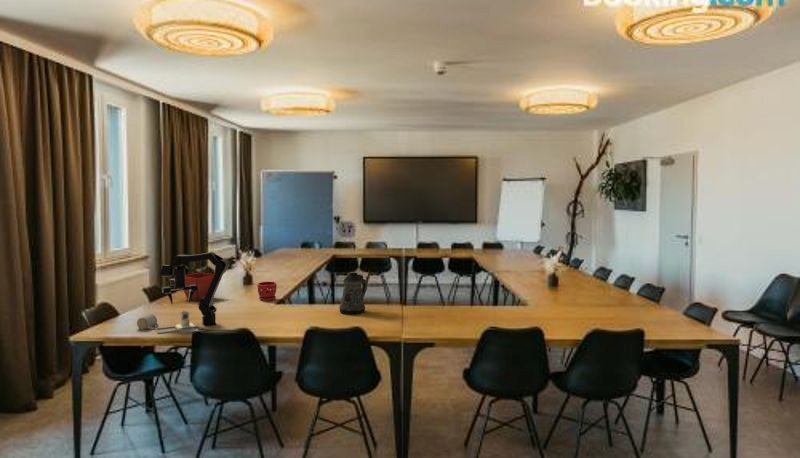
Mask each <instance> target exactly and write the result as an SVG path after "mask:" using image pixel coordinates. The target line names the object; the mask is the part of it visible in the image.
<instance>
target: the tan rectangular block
mask: <svg viewBox="0 0 800 458" xmlns="http://www.w3.org/2000/svg"><path fill="white" fill-rule="evenodd" d="M189 323H190V311H189V310H180V324H181V326H189Z"/></svg>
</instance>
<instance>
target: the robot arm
mask: <svg viewBox="0 0 800 458" xmlns="http://www.w3.org/2000/svg"><path fill="white" fill-rule="evenodd" d="M206 260H208V261H209V262H211V264H212V265H213V266H214V274H215V275H214V277H213V279H212V282H211V284H210V287H209V289H208V292H207V294H206V296H204V297H202V298H201V299H200V300H199V303H198V304H197V305H198V310H199V311H200V313H201V315H202V317H201V319H202V320H201V321H202V322H201V323H202V325H204V326H208V327H209V326H215V325H217V322H216V312H217V309H218V308H217V307H216V306H215V305H214V298H215V295H216V292H217V290H218V287H219V285H220V284H221V280H222V277H223V276H224V274H225V273H226V272H227V271H228V269H229V267H230V264H231V263H230V261H229V260H228V259H227V258H226V259H225V258H223V257H221V255H218V254H216V253H215V252H213V251H211V252H205V253H197V254H192V255H191V254H178V255H175V256H173V257H172V261H171V262H170V264H169V265H168V264H161V268H160V271H159V275H160V276H161V277H163V278H164V277H165V278H166V277H167V278H172V277H173V276H174V279H170V280H169V283H170V284H169V286H163V287H162V288H161V293H162V294H165V295H167V297H168V299H169V301H170V304H171V305H173V302H174V301H173V296H172V295H173V294H172V292H176V291H184V290H189V298H188V299H187V300H188V301H187V302H188V303H189V304H190V302H191V300H192V299H191V297H192V295H193V293H194V292H196V290H198V286H197V285H196V284H194V285H189V286H188V287H185V275H186V270H188V269H190V267H189V266H188V265H186V264H188V263H192V262H200V261H206ZM172 286H173V287H172ZM183 288H184V289H183Z"/></svg>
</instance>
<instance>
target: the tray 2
mask: <svg viewBox="0 0 800 458" xmlns="http://www.w3.org/2000/svg"><path fill="white" fill-rule="evenodd" d="M196 329H202V328H201V326H199V325H197V326H196V325H194V327H185V328H179V331H180V332H181V334H183V335H185V334H193V333H192V332H193V331H194V330H196Z"/></svg>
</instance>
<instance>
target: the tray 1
mask: <svg viewBox="0 0 800 458" xmlns="http://www.w3.org/2000/svg"><path fill="white" fill-rule="evenodd" d="M154 328H155V327H154ZM154 330H155V331H156V333H157V335H161V334H167V333H168V334H170V333H178V332H179V328H177V327H176V325H172V326H165V327H158V328H155V329H154Z"/></svg>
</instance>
